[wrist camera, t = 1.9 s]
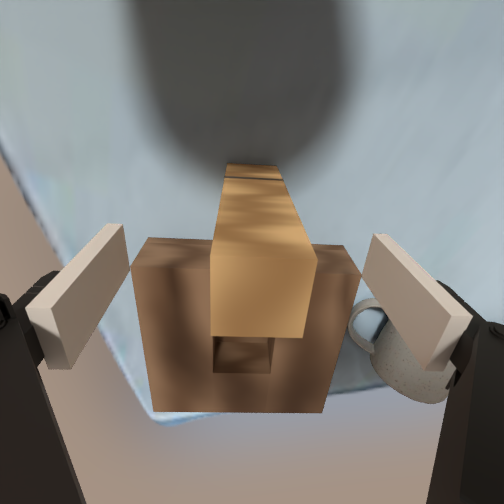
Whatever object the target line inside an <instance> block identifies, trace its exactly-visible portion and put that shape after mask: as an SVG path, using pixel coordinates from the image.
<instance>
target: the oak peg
mask: <svg viewBox="0 0 504 504" xmlns="http://www.w3.org/2000/svg"><path fill="white" fill-rule="evenodd" d="M317 261H318V259H317V257H316V254H315V252H314V250H313V247H312V245H311V243H310V241H309V238H308V236H307V234H306V232H305V229H304V227H303V225H302V222H301V220H300V218H299V216H298V213H297V211H296V209H295V207H294V204H293V202H292V200H291V197H290V195H289V193H288V191H287V188H286V186H285V184H284V182H283V179H282V177H281V175H280V172H279V170H278V168H277V166H270V165H252V164H234V163H227V168H226V173H225V177H224V184H223V189H222V194H221V200H220V205H219V210H218V216H217V221H216V227H215V232H214V237H213V243H212V248H211V253H210V310H211V336H233V337H276V338H303V333H304V328H305V323H306V317H307V312H308V307H309V302H310V297H311V292H312V287H313V282H314V277H315V272H316V267H317Z"/></svg>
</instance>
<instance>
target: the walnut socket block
mask: <svg viewBox="0 0 504 504" xmlns="http://www.w3.org/2000/svg"><path fill="white" fill-rule="evenodd" d="M212 243H213V240H199V239H175V238H150V237H148V239H147V240H146V242H145V244H144V245H143V247H142V248H141V250H140V252H139V253H138V255H137V257H136V258H135V260H134V261H133V263H132V265H131V266H130V268H131V274H132V281H133V287H134V293H135V299H136V305H137V312H138V318H139V324H140V330H141V336H142V343H143V349H144V355H145V361H146V367H147V374H148V380H149V386H150V392H151V399H152V405H153V411H154V412H241V413H243V412H244V413H248V412H249V413H253V412H254V413H322V411H323V408H324V404H325V401H326V397H327V394H328V390H329V387H330V383H331V380H332V376H333V373H334V369H335V366H336V362H337V359H338V355H339V352H340V348H341V345H342V342H343V338H344V335H345V331H346V328H347V324H348V321H349V317H350V314H351V310H352V307H353V303H354V300H355V296H356V293H357V289H358V286H359V282H360V279H361V273H360V271H359V270H358V268H357V267H356V265H355V264H354V262H353V260H352V259H351V257H350V256H349V254H348V253H347V251H346V249H345V248H344V246H343V245H320V244H311V245H312V247H313V250H314V252H315V254H316V257H317V259H318V261H317V267H316V272H315V277H314V282H313V287H312V292H311V297H310V302H309V307H308V312H307V317H306V323H305V328H304V333H303V338H276V337H233V336H211V310H210V253H211V248H212Z"/></svg>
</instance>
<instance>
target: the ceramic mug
mask: <svg viewBox="0 0 504 504" xmlns="http://www.w3.org/2000/svg"><path fill="white" fill-rule="evenodd" d="M370 307H379V308H382V307H381V305H380V304H379V302H378V301H377V299H376V298H370V299H365V300H363V301H361V302H359V303H357V304H356V305H355V306H354V307H353V308H352V310H351V314H350V317H349V321H348V324H347V328H348V332H349V334H350V336H351V338H352V339H353V340H354V342H355V343H356V344H357V345H359V346H360V347H361V348H362V349H364V350H365V351H367V352H369V353H370V360H371V363H372V366H373V368H374V369H375V371H376V373H377V374H378V375H379V376H380V377H381V378H382V379H383V380H384V381H385V382H386V383H387V384H388V385H389V386H390V387H392V388H393V389H394V390H396V391H397V392H399V393H401V394H402V395H404V396H406V397H408V398H410V399H413V400H415V401H418V402H424V403H427V404H435V403H439V402H441V401H443V400H444V399H445V398H446V397H447V396H448V394H449V390H447V389H445V387H446V385H447V384H448V382H449V380H450V378H451V376H452V375H453V373H454V371H455V369H456V367H455V366H454V365H453V364H452V362H451V361H450V360H449V362H448V364H447V366H446V368H445V369H444V371H443V372H440V371H424V370H423V368H422V367H421V365H420V364H419V362H418V361H417V359H416V358H415V356H414V355H413V353H412V352H411V350H410V349H409V347H408V346H407V344H406V343H405V341H404V340H403V338H402V337H401V335H400V334H399V332H398V331H397V329H396V328H395V326H394V325H393V323H392V322H391V320H390V319H388V322H387V323H386V325H385V326H384V328H383V329H382V331H381V333H380V334H379V336H378V338H377V340H376V341H375V343H374V344H372V343H370V342H368V341H367V340H365V339H364V338H362V337H361V336H360V335H359V334H358V333H357V332H356V331H355V329H354V328H353V322H354V320H355V318H356V316H357V315H358V314H359V313H361V312H363V311H364V309H367V308H370ZM449 389H450V388H449Z"/></svg>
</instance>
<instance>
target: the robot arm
mask: <svg viewBox="0 0 504 504" xmlns="http://www.w3.org/2000/svg"><path fill="white" fill-rule="evenodd" d="M129 271H130V267H129V261H128V254H127V248H126V242H125V235H124V229H123V224H106V225H105V226H104V227H103V228H102V229H101V230H100V231H99V232H98V233H97V234H96V236H95V237H94V238H93V239H92V240H91V241H90V242H89V243H88V244H87V245H86V246H85V247H84V248H83V249H82V250H81V251H80V252H79V253H78V254H77V255H76V256H75V257H74V258H73V259H72V260H71V261H70V262H69V263H68V264H67V265H66V266H65V267H64V268H63V269H62V270H61V271H52V272H50V273H49V274H47V275H45V276H43V277H41V278H40V279H39V280H38V281H37V282H36V283H35V284H34V285H33V287H31V288H30V289H29V290H28V291H27V292H26V294H23V295H22V296H21V297H20V298H19V299H18V300H17V301H16V302H15V303H14V304H13V305H11V302H10V300H9V298H8V297H7V296H6V295H5V294H1V293H0V504H86V501H85V498H84V496H83V493H82V490H81V487H80V484H79V482H78V479H77V476H76V473H75V470H74V468H73V465H72V462H71V459H70V457H69V454H68V451H67V448H66V445H65V443H64V440H63V437H62V434H61V432H60V429H59V426H58V423H57V421H56V418H55V415H54V412H53V409H52V407H51V404H50V401H49V398H48V395H47V393H46V390H45V387H44V384H43V382H42V379H41V376H40V373H39V371H38V369H37V367H38V365H39V364H40V363H41V361H42V360H43V358H44V359H45V361H46V364H47V367H48V369H72V367H73V365H74V364H75V362H76V360H77V358H78V357H79V355H80V353H81V352H82V350H83V348H84V347H85V345H86V343H87V342H88V340H89V338H90V337H91V335H92V333H93V332H94V330H95V328H96V327H97V325H98V323H99V322H100V320H101V318H102V316H103V315H104V313H105V311H106V310H107V308H108V306H109V305H110V303H111V301H112V300H113V298H114V296H115V295H116V293H117V291H118V290H119V288H120V286H121V285H122V283H123V281H124V279H125V278H126V276H127V274H128V273H129ZM361 277H362V278H363V280H364V281H365V283H366V284H367V286H368V287H369V289H370V290H371V292H372V293H373V295H374V296H375V298H376V299H377V301H378V302H379V304H380V305H381V307H382V308H383V310H384V311H385V313H386V314H387V316H388V317H389V319H390V320H391V322H392V323H393V325H394V326H395V328H396V329H397V331H398V332H399V334H400V335H401V337H402V338H403V340H404V341H405V343H406V344H407V346H408V347H409V349H410V350H411V352H412V353H413V355H414V356H415V358H416V359H417V361H418V362H419V364H420V365H421V367H422V368H423V370H424V371H440V372H443V371H444V369H445V368H446V366H447V364H448V362H449V360H450V361H451V362H452V364H453V365H454V366H455V367H456V369H455V371H454V373H453V375H452V376H451V378H450V380H449V382H448V384H447V385H446V387H445V389H447V390H449V394H448V398H447V403H446V408H445V413H444V418H443V423H442V428H441V433H440V438H439V443H438V448H437V453H436V458H435V463H434V467H433V473H432V477H431V483H430V487H429V492H428V497H427V502H426V504H504V325H502V324H499V323H495V322H487V321H486V320H484V319H483V318H482V317H481V316H480V315H479V314H478V313H477V312H476V311H475V310H474V309H473V308H471V307H470V306H469V305H468V304H467V303H466V302H464V300H463V299H462V298H461V297H460V296H458V295H457V294H456V293H455V292H454V291H453V290H452V289H451V288H450V287H448V286H447V285H445V284H443V283H442V282H440V281H438V280H434V279H433V278H432V277H431V276H430V275H429V274H428V273H427V272H426V271H425V270H424V269H423V268H422V267H421V266H420V265H419V264H418V263H417V262H416V261H415V260H414V259H413V258H412V257H410V256H409V255H408V254H407V253H406V252H405V251H404V250H403V249H402V248H401V247H400V246H399V245H398V244H397V243H396V242H395V241H394V240H393V239H392V238H391V237H390V236H389V235H388V234H373V237H372V240H371V244H370V248H369V251H368V255H367V258H366V262H365V265H364V269H363V272H362V276H361ZM449 388H450V389H449Z"/></svg>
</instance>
